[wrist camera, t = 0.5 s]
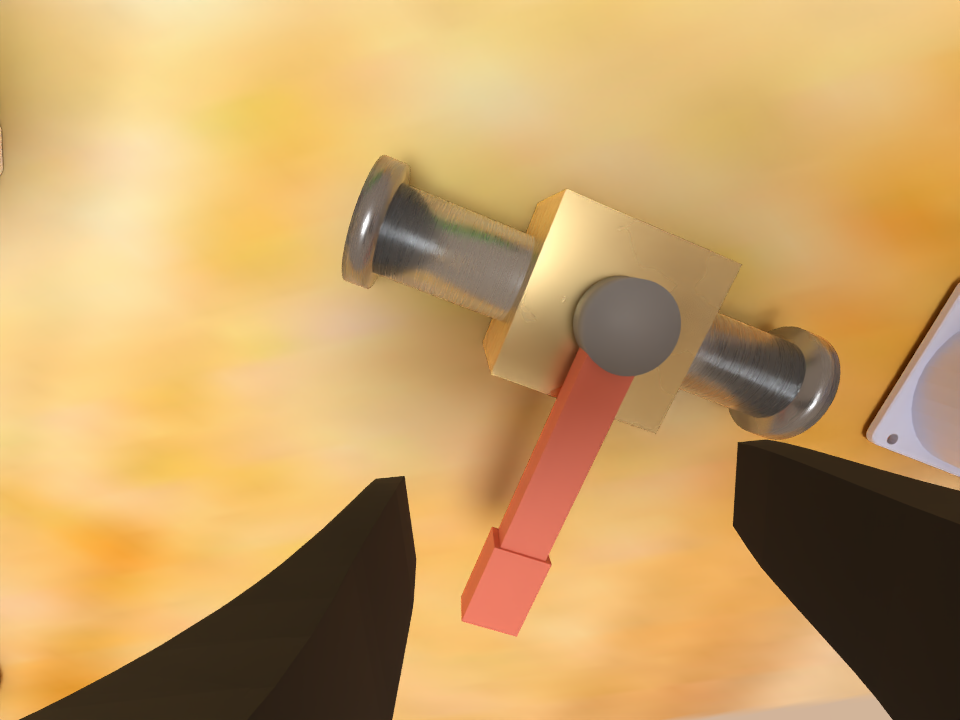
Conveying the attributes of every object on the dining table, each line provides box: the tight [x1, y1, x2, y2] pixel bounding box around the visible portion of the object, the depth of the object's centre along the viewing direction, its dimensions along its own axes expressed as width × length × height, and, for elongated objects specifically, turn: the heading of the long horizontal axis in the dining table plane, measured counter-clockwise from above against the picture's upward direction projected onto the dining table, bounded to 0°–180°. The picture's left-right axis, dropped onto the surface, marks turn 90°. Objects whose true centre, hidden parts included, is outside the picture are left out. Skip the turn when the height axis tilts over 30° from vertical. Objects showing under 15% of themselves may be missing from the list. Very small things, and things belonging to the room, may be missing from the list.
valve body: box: [342, 155, 840, 440], centre depth 17 cm, size 17×6×5 cm, turn 69°
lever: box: [461, 276, 681, 637], centre depth 14 cm, size 12×3×1 cm, turn 159°
